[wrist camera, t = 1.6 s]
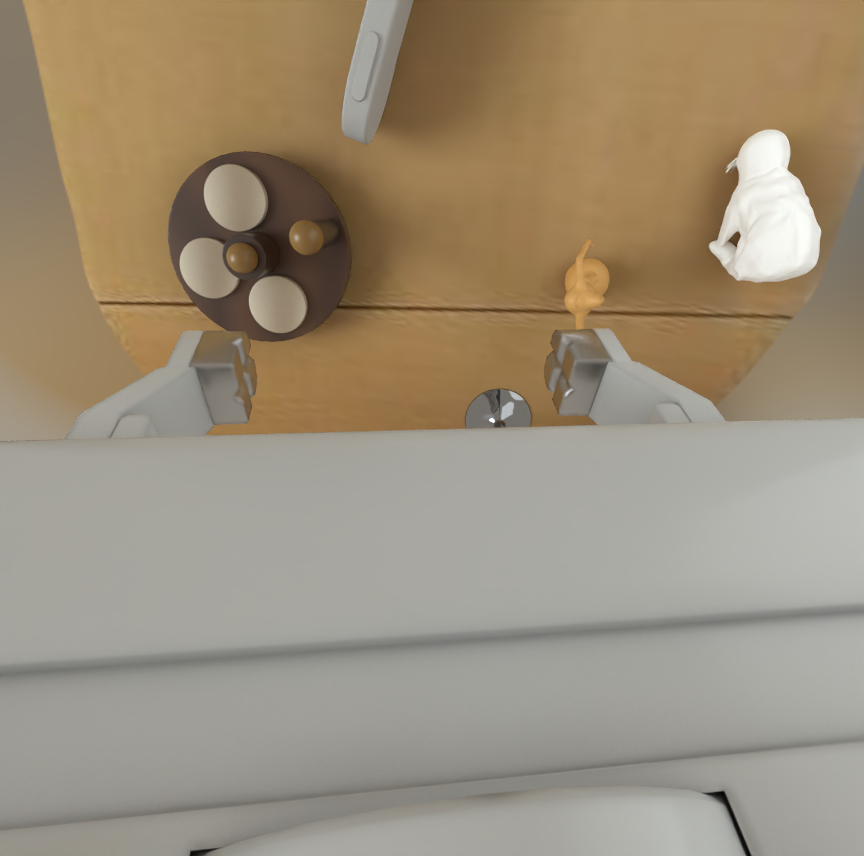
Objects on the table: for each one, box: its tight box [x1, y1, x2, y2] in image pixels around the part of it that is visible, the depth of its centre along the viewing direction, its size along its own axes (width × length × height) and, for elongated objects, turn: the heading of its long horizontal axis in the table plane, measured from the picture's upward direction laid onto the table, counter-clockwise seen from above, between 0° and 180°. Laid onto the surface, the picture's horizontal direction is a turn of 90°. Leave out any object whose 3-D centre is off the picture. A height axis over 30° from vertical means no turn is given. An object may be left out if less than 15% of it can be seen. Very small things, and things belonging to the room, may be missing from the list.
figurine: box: [564, 239, 609, 330], centre depth 43 cm, size 8×6×12 cm
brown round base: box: [168, 151, 351, 342], centre depth 41 cm, size 16×16×11 cm
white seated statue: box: [709, 129, 821, 283], centre depth 43 cm, size 6×8×12 cm
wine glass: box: [465, 389, 531, 429], centre depth 48 cm, size 8×8×15 cm
